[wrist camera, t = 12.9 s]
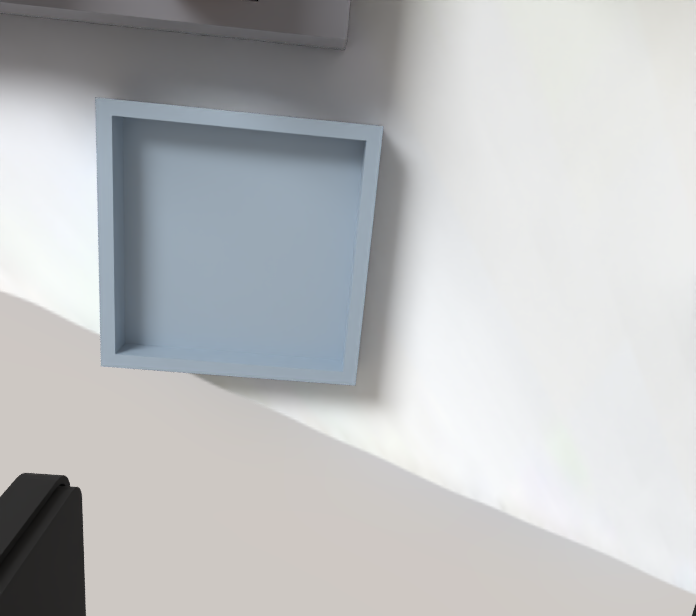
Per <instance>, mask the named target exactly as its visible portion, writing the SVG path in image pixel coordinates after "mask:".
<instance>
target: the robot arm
mask: <svg viewBox="0 0 696 616" xmlns="http://www.w3.org/2000/svg"><path fill="white" fill-rule="evenodd" d="M82 516H83V514H82V494H81V490H80V488H78V487H70V483H69V480H68V478H67V477H66V476H64V475H48V474H34V473H24V474H21V475H20V476H18V477H17V478H16V479H15V481H14V482H13V483H12V484H11V485H10V486H9V487H8V489H7V490H6V491H5V492H4V493H3V495H2V496H1V497H0V616H86V609H85V578H84V546H83V517H82ZM692 616H696V605H695V608H694V611H693V614H692Z"/></svg>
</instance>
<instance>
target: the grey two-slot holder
mask: <svg viewBox="0 0 696 616" xmlns="http://www.w3.org/2000/svg"><path fill="white" fill-rule="evenodd" d="M350 1H351V0H258V1H250V0H0V13H4V14H14V15H23V16H32V17H42V18H51V19H60V20H69V21H79V22H88V23H97V24H107V25H116V26H125V27H135V28H144V29H153V30H163V31H172V32H181V33H191V34H200V35H209V36H219V37H228V38H237V39H247V40H256V41H265V42H275V43H284V44H293V45H303V46H312V47H321V48H331V49H340V50H345V46H346V42H347V35H348V23H349V12H350Z"/></svg>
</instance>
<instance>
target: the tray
mask: <svg viewBox="0 0 696 616" xmlns="http://www.w3.org/2000/svg"><path fill="white" fill-rule="evenodd" d="M95 103H96V150H97V198H98V245H99V293H100V340H101V366H104V367H117V368H132V369H144V370H157V371H170V372H183V373H196V374H210V375H223V376H236V377H249V378H262V379H275V380H289V381H302V382H315V383H328V384H341V385H356V375H357V366H358V357H359V348H360V338H361V329H362V320H363V311H364V302H365V292H366V283H367V274H368V265H369V255H370V246H371V237H372V228H373V218H374V209H375V200H376V191H377V182H378V172H379V163H380V154H381V145H382V135H383V126H377V125H367V124H357V123H347V122H337V121H327V120H317V119H307V118H297V117H287V116H277V115H267V114H257V113H247V112H237V111H227V110H217V109H207V108H197V107H188V106H178V105H168V104H158V103H148V102H138V101H128V100H118V99H108V98H97V97H95Z"/></svg>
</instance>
